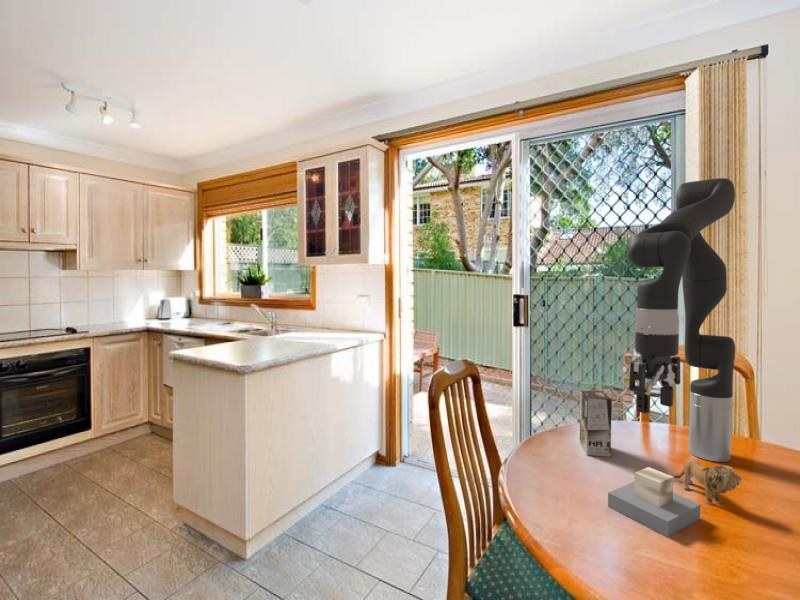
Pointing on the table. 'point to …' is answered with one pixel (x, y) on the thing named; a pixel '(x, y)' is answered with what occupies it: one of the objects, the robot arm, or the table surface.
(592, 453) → the coffee box
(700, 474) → the lion figurine
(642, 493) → the wooden block
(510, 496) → the table surface
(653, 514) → the base
